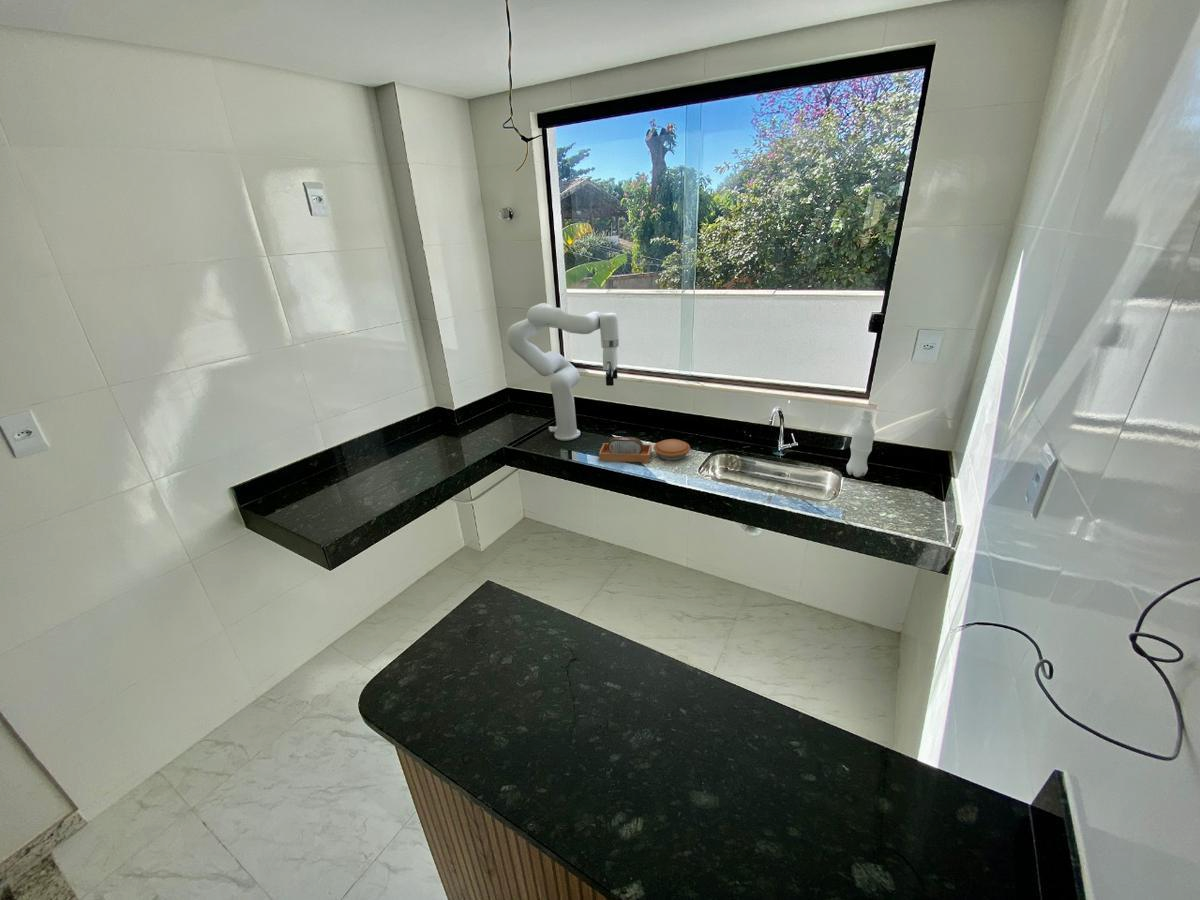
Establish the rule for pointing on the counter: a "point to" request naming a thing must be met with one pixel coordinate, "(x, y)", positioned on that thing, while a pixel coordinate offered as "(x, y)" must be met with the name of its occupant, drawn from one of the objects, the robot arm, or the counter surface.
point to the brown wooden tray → (625, 455)
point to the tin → (625, 445)
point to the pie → (672, 449)
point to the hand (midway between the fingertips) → (611, 381)
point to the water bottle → (861, 446)
